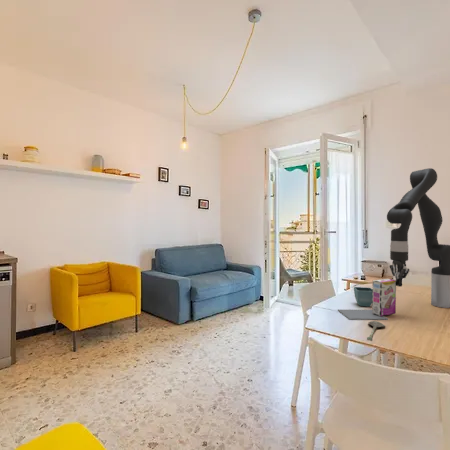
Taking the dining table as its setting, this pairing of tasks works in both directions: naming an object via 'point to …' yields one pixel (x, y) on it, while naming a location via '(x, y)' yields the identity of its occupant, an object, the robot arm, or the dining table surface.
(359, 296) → the flower pot
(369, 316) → the mat
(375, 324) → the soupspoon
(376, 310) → the candy bar box
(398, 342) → the dining table surface
